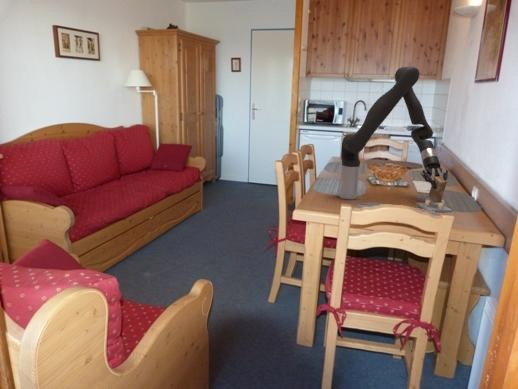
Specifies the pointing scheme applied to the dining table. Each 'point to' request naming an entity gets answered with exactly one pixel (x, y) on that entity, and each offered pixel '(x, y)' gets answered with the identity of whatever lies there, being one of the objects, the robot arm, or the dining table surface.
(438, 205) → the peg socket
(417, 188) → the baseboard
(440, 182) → the brown rectangular block
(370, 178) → the dining table surface
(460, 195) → the dining table surface
